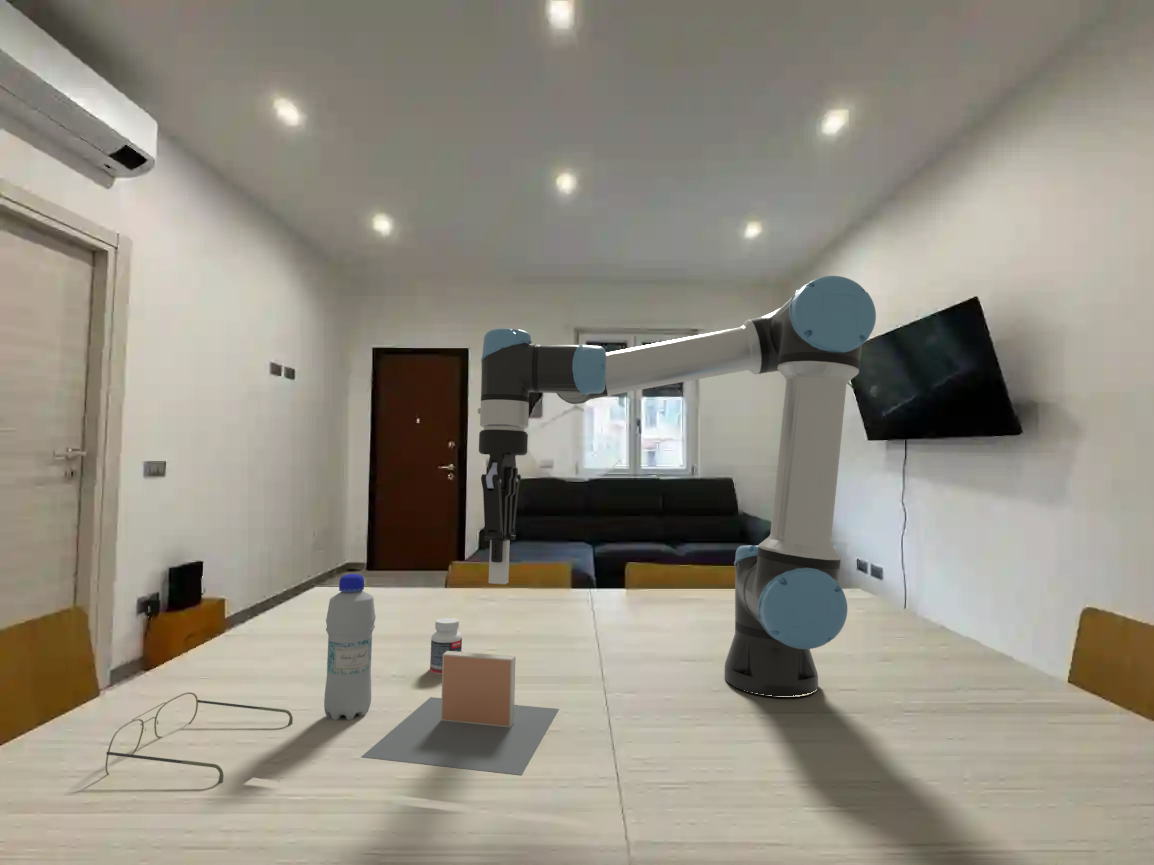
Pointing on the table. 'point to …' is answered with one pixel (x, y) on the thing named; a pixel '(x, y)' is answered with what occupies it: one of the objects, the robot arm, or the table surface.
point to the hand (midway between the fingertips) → (498, 582)
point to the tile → (478, 688)
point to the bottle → (349, 649)
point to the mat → (465, 740)
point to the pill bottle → (444, 642)
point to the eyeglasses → (188, 723)
